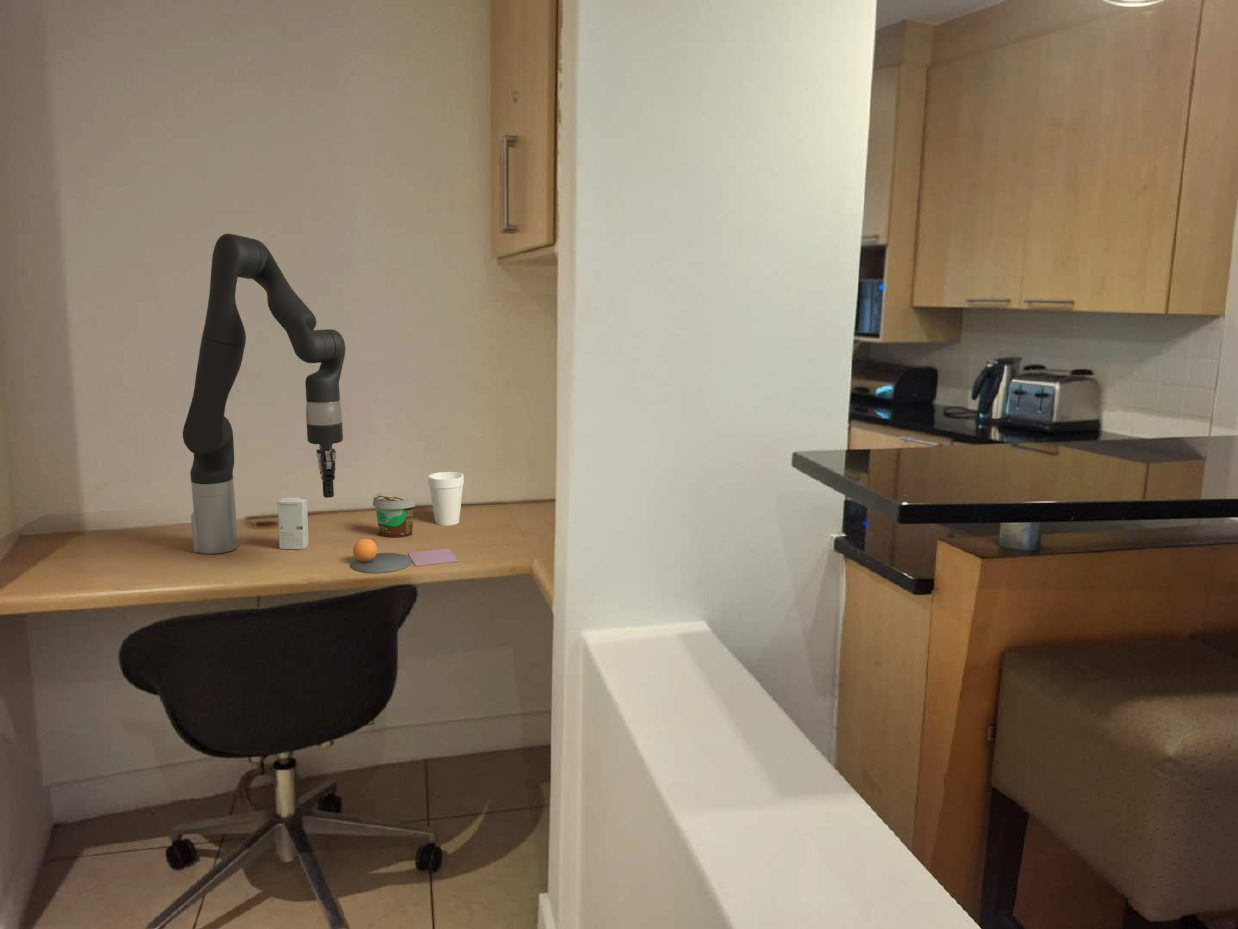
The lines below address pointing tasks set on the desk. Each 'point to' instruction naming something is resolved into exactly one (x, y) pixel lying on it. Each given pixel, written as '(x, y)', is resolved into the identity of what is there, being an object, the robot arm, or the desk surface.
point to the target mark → (382, 563)
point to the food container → (394, 516)
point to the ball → (365, 550)
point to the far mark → (432, 557)
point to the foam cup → (446, 496)
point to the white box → (293, 523)
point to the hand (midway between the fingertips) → (328, 496)
